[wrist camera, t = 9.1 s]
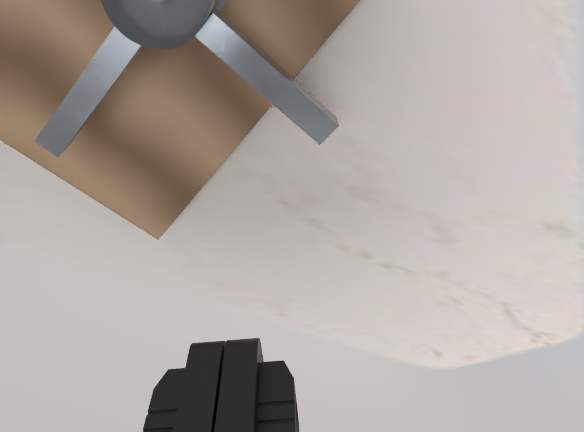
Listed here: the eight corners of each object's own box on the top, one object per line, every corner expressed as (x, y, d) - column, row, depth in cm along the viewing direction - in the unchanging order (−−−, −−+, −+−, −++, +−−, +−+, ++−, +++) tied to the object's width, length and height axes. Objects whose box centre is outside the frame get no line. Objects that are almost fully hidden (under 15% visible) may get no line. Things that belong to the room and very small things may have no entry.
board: (165, 222, 33) (157, 241, 31) (-52, 82, 28) (-76, 94, 26) (389, -47, 25) (397, -44, 23) (144, -299, 21) (130, -321, 19)
